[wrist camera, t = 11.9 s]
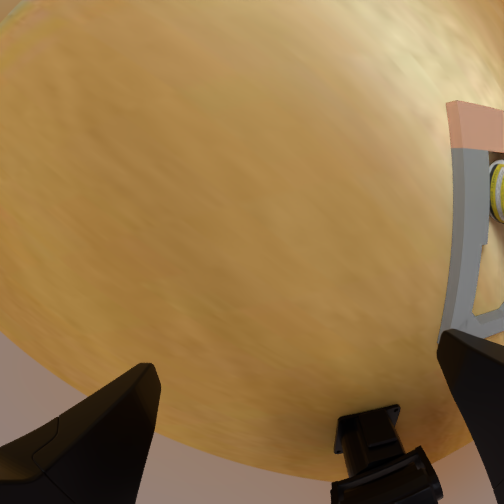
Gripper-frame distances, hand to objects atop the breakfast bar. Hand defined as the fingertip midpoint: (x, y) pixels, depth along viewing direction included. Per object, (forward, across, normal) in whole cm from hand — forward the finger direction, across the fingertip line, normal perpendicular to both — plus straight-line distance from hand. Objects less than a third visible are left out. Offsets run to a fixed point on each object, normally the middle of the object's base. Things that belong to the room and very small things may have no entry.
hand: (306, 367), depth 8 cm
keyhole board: (+12, -20, 0) cm, 23 cm away
